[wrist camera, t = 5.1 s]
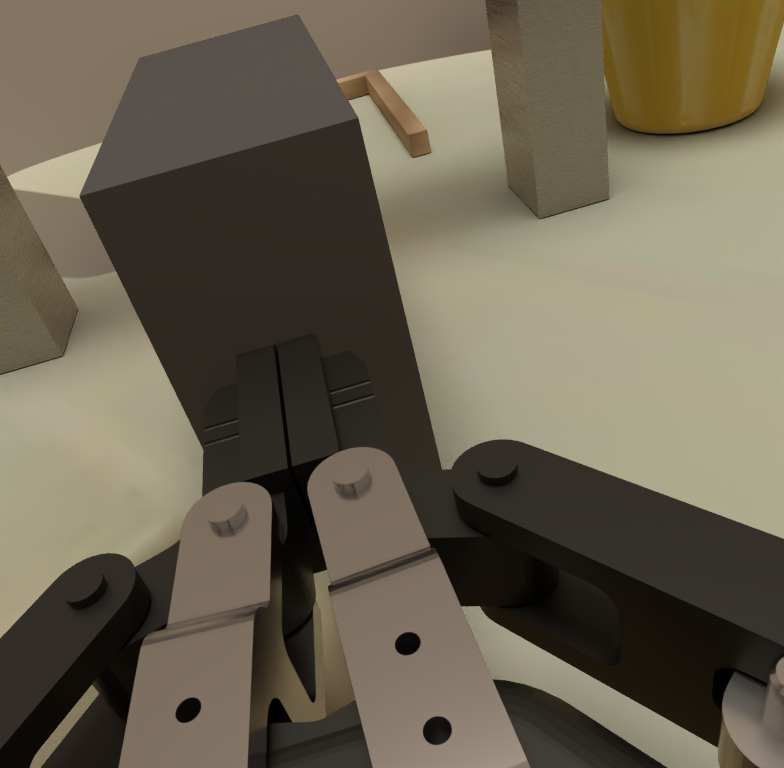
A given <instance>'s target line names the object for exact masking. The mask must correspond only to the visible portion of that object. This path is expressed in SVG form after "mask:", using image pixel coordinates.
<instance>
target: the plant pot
mask: <svg viewBox="0 0 784 768" xmlns="http://www.w3.org/2000/svg"><path fill="white" fill-rule="evenodd" d="M601 13H602V37H603V61H604V75H605V79H606V83H607V86H608V90H609V94H610V99H611V103H612V106H613V110H614V114H615V117H616V118H617V120H618V121H619V123H620V124H622V125H623V126H625V127H627V128H629V129H631V130H635V131H639V132H645V133H655V134H674V133H689V132H695V131H702V130H708V129H712V128H717V127H720V126H724V125H727V124H730V123H733V122H736V121H738V120H740V119H743V118H744V117H746V116H748V115H750V114H751V113H753V112H754V111H755V110H756V109H757V108H758V107H759V106H760V104H761V102H762V99H763V96H764V92H765V88H766V85H767V81H768V77H769V74H770V70H771V66H772V63H773V59H774V55H775V52H776V48H777V44H778V41H779V37H780V34H781V30H782V27H783V23H784V0H601Z"/></svg>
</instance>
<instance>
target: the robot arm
mask: <svg viewBox="0 0 784 768" xmlns="http://www.w3.org/2000/svg"><path fill="white" fill-rule="evenodd" d="M277 347H278V349H277ZM277 347H276V345H275V344H273V345H270V346H267V347H263V348H260V349H256V350H253V351H249V352H246V353H242V354H239V355H237V356H236V370H237V383H234V384H231V385H227V386H224V387H221V388H217V389H216V390H215V392H214V393H213V395H212V397H211V399H210V400H209V402H208V404H207V406H206V407H205V417H204V428H205V431H204V445H205V447H204V453H203V489H202V498H201V499H200V500H198V501H197V502H196V503H195V504H194V505H193V507H192V508H191V509H190V510H189V512H188V513H187V515H186V517H185V520H184V523H183V527H182V534H181V539H180V540H179V541H178V542H176V543H175V544H174V545H173V546H171V547H170V548H168V549H166V550H165V551H163V552H161V553H159V554H158V555H156V556H154V557H152V558H151V559H149V560H147V561H145V562H143V563H142V564H140V565H138V566H136V567H134V565H133V564H132V562H131V561H130V560H129V559H128V558H127V557H125V556H122V555H119V554H112V553H107V554H100V555H96V556H92V557H90V558H87V559H85V560H83V561H81V562H79V563H77V564H75V565H74V566H72V567H70V568H69V569H68V570H66V571H65V572H64V573H63V574H61V575H60V576H59V577H58V578H57V579H56V580H55V581H54V582H53V583H52V584H51V585H50V587H49V588H48V589H47V590H46V591H45V592H44V593H43V594H42V595H41V596H40V597H39V598H38V599H37V600H36V601H35V602H34V603H33V605H32V606H31V607H30V608H29V609H28V610H27V611H26V612H25V613H24V614H23V615H22V616H21V617H20V618H19V619H18V620H17V621H16V622H15V624H14V625H13V626H12V627H11V628H10V629H9V630H8V631H7V632H6V633H5V634H4V635H3V636H2V637H1V638H0V768H29V767H30V764H31V762H32V760H33V758H34V756H35V755H36V753H37V752H38V750H39V749H40V748H41V746H42V745H43V744H44V743H45V741H46V740H47V739H48V738H49V737H50V735H51V734H52V733H53V732H54V730H55V729H56V728H57V727H58V725H59V724H60V723H61V722H62V720H63V719H64V718H65V717H66V716H67V714H68V713H69V712H70V711H71V709H72V708H73V707H74V706H75V704H76V703H77V702H78V701H79V699H80V698H81V697H82V696H83V695H84V693H85V692H86V691H87V690H88V688H89V687H90V686H91V685H93V686H94V687H95V689H96V690H97V691H98V692H99V695H98V696H97V697H96V699H95V700H94V701H93V703H92V704H91V705H90V706H89V708H88V709H87V710H86V711H85V713H84V714H83V715H82V716H81V718H80V719H79V720H78V721H77V723H76V724H75V725H74V726H73V728H72V729H71V730H70V731H69V733H68V734H67V735H66V737H65V738H64V739H63V740H62V742H61V743H60V744H59V745H58V747H57V748H56V749H55V750H54V752H53V753H52V754H51V755H50V757H49V758H48V759H47V760H46V762H45V763H44V764H43V765H42V767H41V768H667V767H665V766H664V765H662V764H661V763H659V762H658V761H656V760H655V759H653V758H651V757H650V756H648V755H647V754H645V753H644V752H642V751H641V750H639V749H638V748H636V747H634V746H633V745H631V744H630V743H628V742H627V741H625V740H624V739H622V738H621V737H619V736H617V735H616V734H614V733H613V732H611V731H610V730H608V729H607V728H605V727H604V726H602V725H601V724H599V723H597V722H596V721H594V720H593V719H591V718H590V717H588V716H587V715H585V714H584V713H582V712H580V711H579V710H577V709H576V708H574V707H573V706H571V705H570V704H568V703H566V702H565V701H563V700H561V699H560V698H557V697H555V696H553V695H551V694H549V693H547V692H545V691H543V690H540V689H537V688H534V687H531V686H528V685H525V684H520V683H515V682H510V681H505V680H492V677H491V675H490V673H489V670H488V668H487V666H486V663H485V661H484V659H483V656H482V654H481V652H480V650H479V647H478V645H477V643H476V640H475V638H474V636H473V633H472V631H471V629H470V626H469V624H468V622H467V619H466V617H465V615H464V612H463V610H462V608H461V606H480V608H481V609H482V611H483V612H484V614H485V615H486V616H487V617H488V618H489V619H491V620H492V621H494V622H495V623H497V624H499V625H501V626H502V627H504V628H506V629H508V630H509V631H511V632H513V633H515V634H517V635H518V636H520V637H522V638H524V639H525V640H527V641H529V642H531V643H533V644H534V645H536V646H538V647H540V648H541V649H543V650H545V651H547V652H549V653H550V654H552V655H554V656H556V657H557V658H559V659H561V660H563V661H565V662H566V663H568V664H570V665H572V666H574V667H575V668H577V669H579V670H581V671H582V672H584V673H586V674H588V675H590V676H591V677H593V678H595V679H597V680H598V681H600V682H602V683H604V684H606V685H607V686H609V687H611V688H613V689H614V690H616V691H618V692H620V693H622V694H623V695H625V696H627V697H629V698H630V699H632V700H634V701H636V702H638V703H639V704H641V705H643V706H645V707H646V708H648V709H650V710H652V711H654V712H655V713H657V714H659V715H661V716H663V717H664V718H666V719H668V720H670V721H671V722H673V723H675V724H677V725H679V726H680V727H682V728H684V729H686V730H687V731H689V732H691V733H693V734H695V735H696V736H698V737H700V738H702V739H703V740H705V741H707V742H709V743H711V744H712V745H714V746H716V747H718V761H719V766H720V768H784V539H782V538H780V537H777V536H774V535H771V534H769V533H766V532H763V531H761V530H758V529H755V528H752V527H750V526H747V525H744V524H742V523H739V522H736V521H734V520H731V519H728V518H725V517H723V516H720V515H717V514H715V513H712V512H709V511H707V510H704V509H701V508H698V507H696V506H693V505H690V504H688V503H685V502H682V501H680V500H677V499H674V498H671V497H669V496H666V495H663V494H661V493H658V492H655V491H653V490H650V489H647V488H644V487H642V486H639V485H636V484H634V483H631V482H628V481H625V480H623V479H620V478H617V477H615V476H612V475H609V474H607V473H604V472H601V471H598V470H596V469H593V468H590V467H588V466H585V465H582V464H580V463H577V462H574V461H571V460H569V459H566V458H563V457H561V456H558V455H555V454H553V453H550V452H547V451H544V450H542V449H539V448H536V447H534V446H531V445H528V444H525V443H522V442H519V441H514V440H492V441H487V442H484V443H481V444H478V445H476V446H474V447H471V448H470V449H468V450H467V451H465V452H464V453H463V454H462V455H461V456H459V458H458V459H457V460H456V461H455V463H454V465H453V467H452V469H451V470H424V469H418V468H414V467H411V466H409V465H406V464H405V463H403V462H401V461H400V460H399V459H398V458H397V457H396V456H395V455H394V454H393V452H392V450H391V448H390V445H389V442H388V439H387V435H386V432H385V428H384V425H383V422H382V418H381V415H380V412H379V408H378V405H377V402H376V398H375V395H374V392H373V388H372V385H371V382H370V378H369V375H368V371H367V368H366V365H365V362H364V361H363V360H361V359H360V358H359V357H358V356H356V355H355V354H354V353H352V352H351V351H350V350H348V351H344V352H341V353H337V354H334V355H331V356H327V357H323V354H322V350H321V347H320V344H319V341H318V339H317V336H316V333H311V334H308V335H304V336H301V337H297V338H294V339H290V340H287V341H283V342H280V343H278V344H277ZM324 570H328V573H329V577H330V581H331V585H329V586H328V589H329V595H330V599H331V603H332V607H333V611H334V615H335V619H336V623H337V627H338V631H339V635H340V639H341V643H342V647H343V651H344V655H345V659H346V663H347V667H348V671H349V675H350V679H351V683H352V687H353V691H354V695H355V699H356V700H355V701H353V702H352V703H350V704H348V705H346V706H345V707H343V708H341V709H339V710H338V711H336V712H334V713H333V714H331V715H329V716H327V717H326V713H325V694H324V672H323V650H322V628H321V613H320V609H319V606H318V604H317V601H316V599H315V598H316V591H315V584H314V576H313V574H314V573H317V572H321V571H324Z"/></svg>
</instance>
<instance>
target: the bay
mask: <svg viewBox="0 0 784 768" xmlns="http://www.w3.org/2000/svg"><path fill="white" fill-rule="evenodd" d="M337 82H338V84H339V86H340V87H341V89H342V91H343V92H344V94H345V96H346V98H347V99H348V100H349V99H353V98H356V97H360V96H363V95H367V94H369V95H370V96H371V98H372V99H373V101H374V102H375V103H376V105H377V106H378V108H379V109H380V111H381V112H382V114H383V115H384V116H385V118H386V119H387V121H388V122H389V124H390V125H391V126H392V128H393V129H394V131H395V132H396V134H397V135H398V137H399V138H400V139H401V141H402V142H403V144H404V145H405V147H406V148H407V150H408V151H409V152H410V154H411V155H412V157H416V156H419V155H423V154H427V153H430V152H431V149H430V143H429V138H428V133H427V129H426V128H425V127H424V126H423V124H422V123H421V122H420V121H419V119H418V118H417V117H416V116H415V115H414V113H413V112H412V111H411V110H410V109H409V107H408V106H407V105H406V104H405V102H404V101H403V100H402V99H401V98H400V96H399V95H398V94H397V93H396V92H395V90H394V89H393V88H392V87H391V85H390V84H389V83H388V82H387V81H386V79H385V78H384V77H383V76H382V75H381V73H380V72H379V71H378V70H377V69H373V70H370V71H366V72H363V73H359V74H356V75H352V76H348V77H345V78H341V79H338V80H337Z"/></svg>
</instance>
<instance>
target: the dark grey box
mask: <svg viewBox="0 0 784 768" xmlns="http://www.w3.org/2000/svg"><path fill="white" fill-rule="evenodd" d="M80 198H81V200H82V202H83V204H84V206H85V209H86V210H87V212H88V215H89V217H90V218H91V221H92V223H93V225H94V227H95V229H96V231H97V233H98V235H99V237H100V239H101V241H102V243H103V245H104V247H105V249H106V251H107V253H108V255H109V258H110V260H111V261H112V264H113V266H114V268H115V270H116V272H117V274H118V276H119V278H120V280H121V282H122V284H123V286H124V288H125V290H126V292H127V294H128V296H129V298H130V301H131V303H132V305H133V307H134V309H135V311H136V313H137V315H138V317H139V319H140V321H141V323H142V325H143V327H144V329H145V331H146V333H147V335H148V337H149V339H150V341H151V343H152V345H153V348H154V350H155V352H156V354H157V356H158V358H159V360H160V362H161V364H162V366H163V368H164V370H165V372H166V374H167V376H168V378H169V380H170V382H171V384H172V386H173V388H174V390H175V392H176V395H177V397H178V399H179V401H180V403H181V405H182V407H183V409H184V411H185V413H186V415H187V417H188V419H189V421H190V423H191V425H192V427H193V429H194V431H195V433H196V435H197V437H198V440H199V442H200V444H201V446H202V448H203V450H204V447H205V445H204V431H205V428H204V417H205V407H206V406H207V404H208V402H209V400H210V399H211V397H212V395H213V393H214V392H215V390H216V389H217V388H221V387H224V386H227V385H231V384H234V383H237V370H236V356H237V355H239V354H242V353H246V352H249V351H253V350H256V349H260V348H263V347H267V346H270V345H273V344H275V345H276V347H277V344H278V343H280V342H283V341H287V340H290V339H294V338H297V337H301V336H304V335H308V334H311V333H316V336H317V339H318V341H319V344H320V347H321V350H322V354H323V357H327V356H331V355H334V354H337V353H341V352H344V351H348V350H350V351H351V352H352V353H354V354H355V355H356V356H358V357H359V358H360V359H361V360H363V361H364V362H365V365H366V368H367V371H368V375H369V378H370V382H371V385H372V388H373V392H374V395H375V398H376V402H377V405H378V408H379V412H380V415H381V418H382V422H383V425H384V428H385V432H386V435H387V439H388V442H389V445H390V448H391V450H392V452H393V454H394V455H395V456H396V457H397V458H398V459H399V460H400V461H401V462H403V463H405V464H406V465H409V466H411V467H414V468H418V469H424V470H442V468H441V463H440V459H439V455H438V451H437V447H436V442H435V438H434V434H433V430H432V426H431V421H430V417H429V413H428V409H427V405H426V400H425V396H424V392H423V388H422V384H421V379H420V375H419V371H418V367H417V363H416V358H415V354H414V350H413V346H412V342H411V337H410V333H409V329H408V325H407V321H406V316H405V312H404V308H403V304H402V300H401V295H400V291H399V287H398V283H397V279H396V274H395V270H394V266H393V262H392V258H391V253H390V249H389V245H388V241H387V237H386V232H385V228H384V224H383V220H382V216H381V211H380V207H379V203H378V199H377V195H376V190H375V186H374V182H373V178H372V174H371V169H370V165H369V161H368V157H367V153H366V148H365V144H364V140H363V136H362V132H361V127H360V123H359V119H358V117H357V115H356V113H355V111H354V110H353V108H352V106H351V105H350V103H349V101H348V99H347V98H346V96H345V94H344V92H343V91H342V89H341V87H340V86H339V84H338V82H337V80H336V79H335V77H334V75H333V74H332V72H331V70H330V68H329V67H328V65H327V63H326V61H325V60H324V58H323V56H322V55H321V53H320V51H319V49H318V48H317V46H316V44H315V43H314V41H313V39H312V37H311V36H310V34H309V32H308V30H307V29H306V27H305V25H304V24H303V22H302V21H301V18H300V17H299V15H294V16H290V17H287V18H283V19H279V20H276V21H272V22H268V23H265V24H261V25H258V26H254V27H250V28H247V29H243V30H239V31H236V32H232V33H229V34H225V35H221V36H218V37H214V38H210V39H207V40H203V41H199V42H196V43H192V44H188V45H185V46H181V47H178V48H174V49H170V50H167V51H163V52H159V53H156V54H152V55H149V56H145V57H142V58H139V60H138V62H137V64H136V67H135V69H134V71H133V74H132V76H131V78H130V81H129V83H128V85H127V88H126V90H125V92H124V94H123V97H122V99H121V102H120V104H119V106H118V108H117V111H116V113H115V115H114V118H113V120H112V122H111V124H110V127H109V129H108V131H107V134H106V136H105V138H104V141H103V143H102V145H101V147H100V150H99V152H98V154H97V157H96V159H95V161H94V163H93V166H92V168H91V170H90V173H89V175H88V177H87V180H86V182H85V184H84V187H83V189H82V191H81V193H80ZM277 349H278V347H277Z"/></svg>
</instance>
